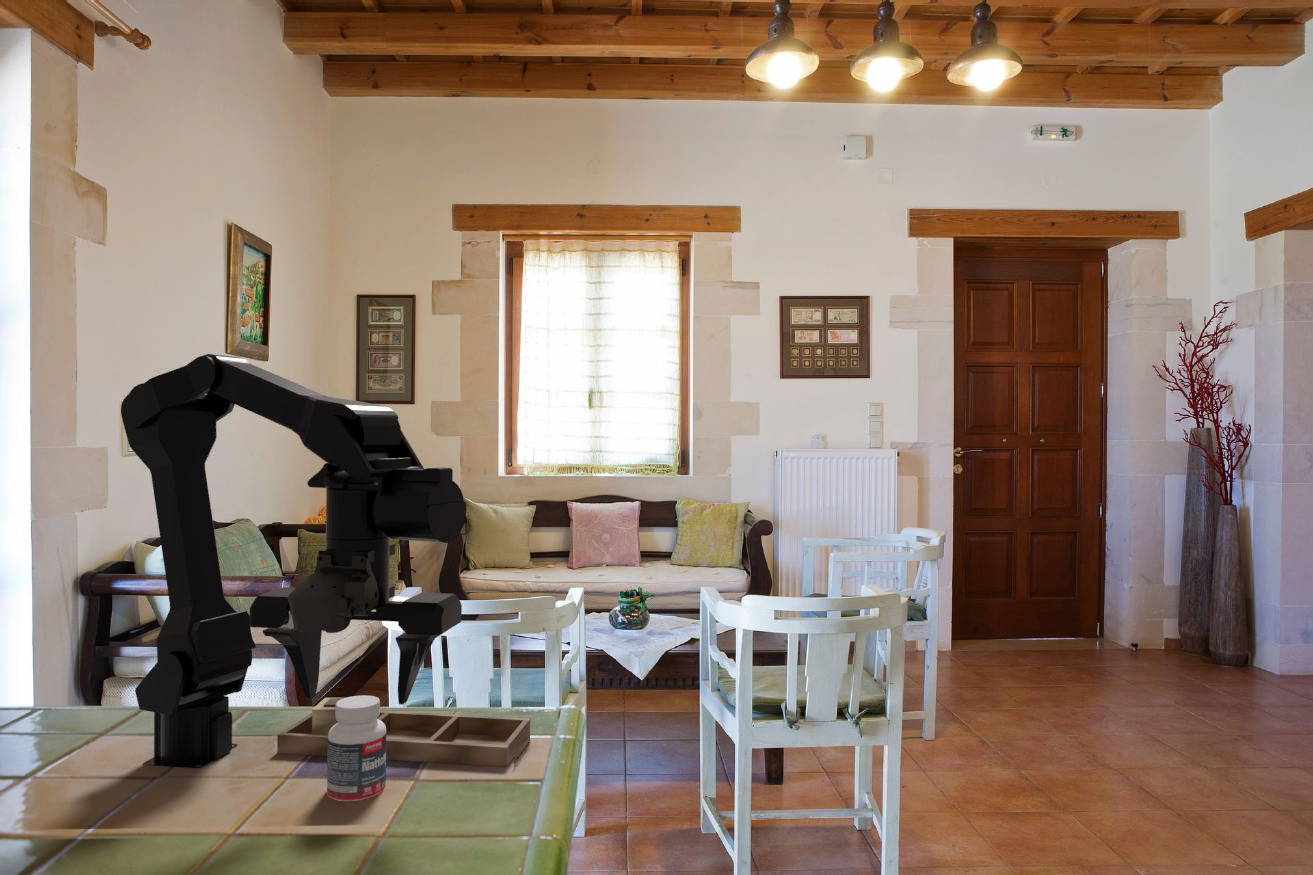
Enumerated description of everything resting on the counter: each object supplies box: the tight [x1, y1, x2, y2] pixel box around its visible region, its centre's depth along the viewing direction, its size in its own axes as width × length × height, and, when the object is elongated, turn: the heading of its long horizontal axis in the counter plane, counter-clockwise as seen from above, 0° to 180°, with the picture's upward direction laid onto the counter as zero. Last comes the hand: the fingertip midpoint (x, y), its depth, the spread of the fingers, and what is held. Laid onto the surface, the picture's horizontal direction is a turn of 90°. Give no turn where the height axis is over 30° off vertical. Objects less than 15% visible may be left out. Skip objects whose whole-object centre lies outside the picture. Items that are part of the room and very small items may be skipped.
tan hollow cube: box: [311, 697, 345, 735], centre depth 92 cm, size 4×4×4 cm
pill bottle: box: [326, 694, 387, 802], centre depth 80 cm, size 5×5×9 cm
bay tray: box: [276, 710, 531, 768], centre depth 91 cm, size 25×9×2 cm, turn 83°
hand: (356, 700), depth 80 cm, fingers open, 9 cm apart
